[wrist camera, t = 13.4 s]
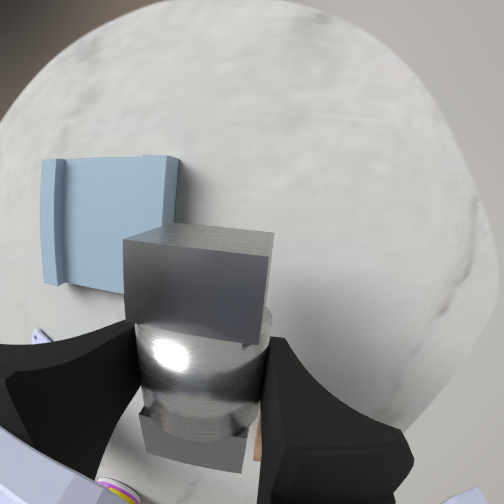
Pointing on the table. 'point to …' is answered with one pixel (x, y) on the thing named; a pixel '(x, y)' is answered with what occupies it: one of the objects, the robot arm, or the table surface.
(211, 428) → the silver boxy piece
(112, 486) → the supplement bottle
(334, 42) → the table surface
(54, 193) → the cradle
